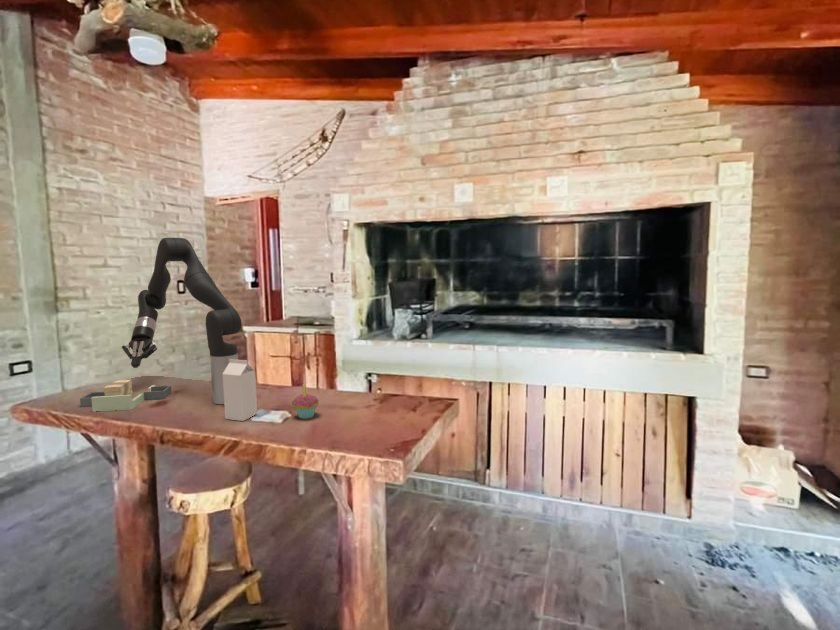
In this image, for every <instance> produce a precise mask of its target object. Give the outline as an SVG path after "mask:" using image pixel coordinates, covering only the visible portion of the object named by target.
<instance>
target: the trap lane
mask: <svg viewBox="0 0 840 630" xmlns="http://www.w3.org/2000/svg"><path fill="white" fill-rule="evenodd" d="M147 389H148V391H143V393H139V394H138V395H136V396H135V397H133V399H132V395H115V396H105V393H104V391H93V392H89V393H88V394H86V395H84V396H82V397H80V398H79V402H80V407H81V408H83V407H85V406H87V407H91V408H92V413H93V412H94V413H96V411H100V412H114V411H115V410H117V411H129V410H133V409H135V408H136V407H138V406H139V405H140V404H141V403H143V402H144V401H154V400H155V401H156V400H165V399H166V397H167V396H168V395H169V396H170V395H172V385H158V386H156V385H154V384H153V385H152V384H151V386H149V387H147ZM169 396H168V397H169ZM168 397H167V398H168ZM85 408H86V407H85Z"/></svg>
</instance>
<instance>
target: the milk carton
mask: <svg viewBox="0 0 840 630" xmlns="http://www.w3.org/2000/svg"><path fill="white" fill-rule="evenodd" d="M248 362H249V361H248V360H245V359H244V360H243V359H238V360H234V359H229V364H228V366H227V367H226V369H225V371H224V372H223V389H224V404H223V405H224V418H225V420H232V421H240V422H243V421H244V422H245V421H246V420H249V419H251V418H253V417H255V416H256V415H255V414H257V415H258V401H257V382H256V381H257V379H256V370H255V369H254V368H253V367H252V366H251V365H250V364H249V363H248ZM254 415H255V416H254ZM252 416H253V417H252ZM250 417H251V418H250Z"/></svg>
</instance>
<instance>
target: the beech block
mask: <svg viewBox="0 0 840 630" xmlns="http://www.w3.org/2000/svg"><path fill="white" fill-rule="evenodd" d="M103 387H104V386H103ZM103 392H104V393H105V396H115V395H132V399H134V393H133V381H132V379H120V380H119V379H118V380H115V381H113V382H111V383H109V384H108V385H105V387H104V388H103Z"/></svg>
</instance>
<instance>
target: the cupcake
mask: <svg viewBox="0 0 840 630" xmlns="http://www.w3.org/2000/svg"><path fill="white" fill-rule="evenodd" d="M302 391H303V394H300V395H298V396H296V397H295V398H294V399H293V400H292V401H291V406H292V408H293V409H295V411H296V413H297V416H298V418H300V419H302V420H305V419H306V420H307V419H311V418H313V417H314V416H315V412H316V409H317V407H318V406H319V399H318V397H317V396H313V395H312V394H307V393H306V383H303V384H302Z"/></svg>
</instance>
